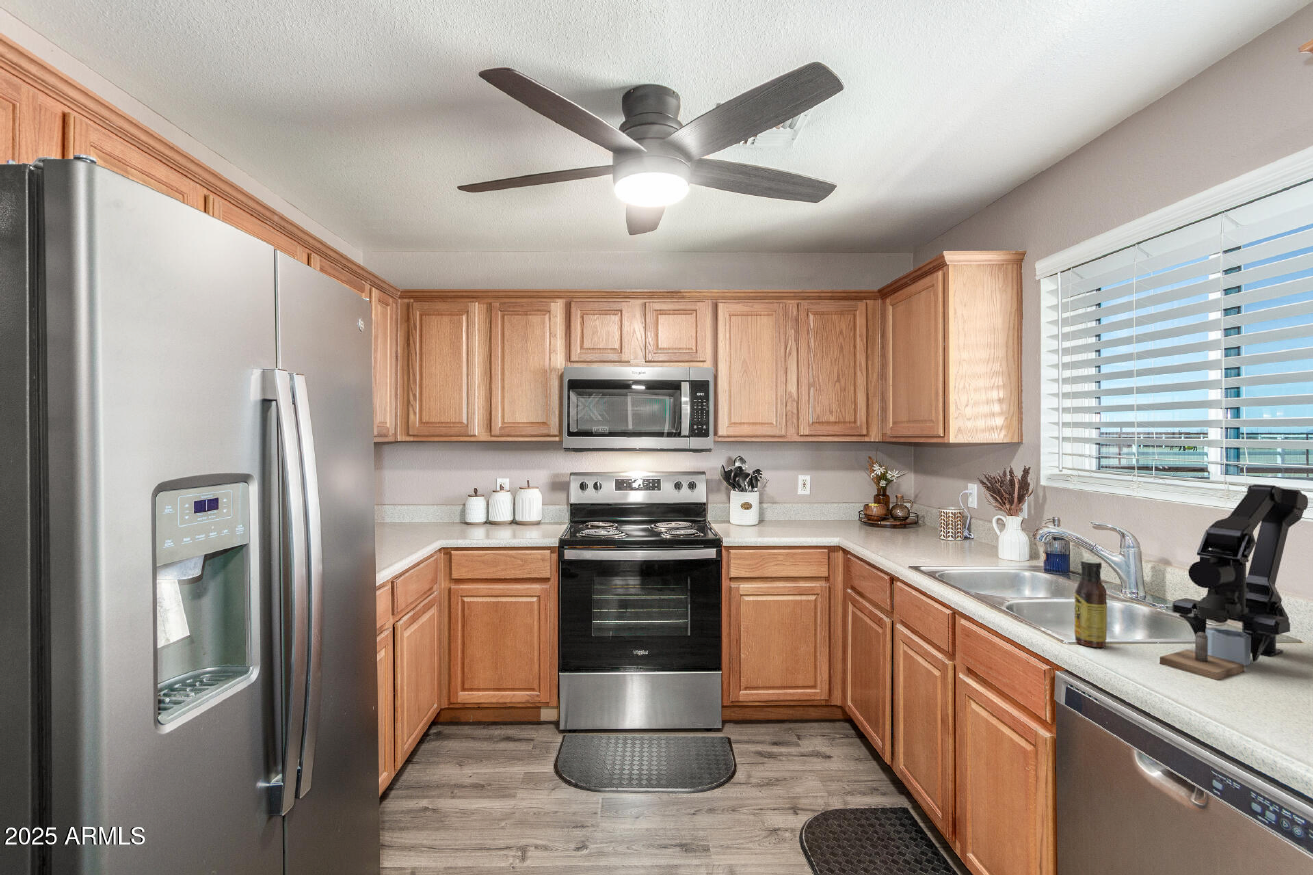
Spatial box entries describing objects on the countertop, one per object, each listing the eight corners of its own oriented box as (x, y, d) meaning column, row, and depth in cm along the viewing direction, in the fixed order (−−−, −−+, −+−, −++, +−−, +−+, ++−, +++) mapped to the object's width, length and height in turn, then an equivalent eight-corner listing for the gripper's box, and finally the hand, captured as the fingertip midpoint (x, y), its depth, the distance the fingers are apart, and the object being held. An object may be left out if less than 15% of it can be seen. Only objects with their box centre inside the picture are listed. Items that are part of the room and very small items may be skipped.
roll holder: (1187, 656, 141) (1187, 622, 141) (1243, 671, 132) (1244, 635, 132) (1159, 663, 137) (1160, 628, 136) (1216, 679, 128) (1217, 642, 127)
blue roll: (1216, 652, 144) (1216, 626, 144) (1255, 662, 138) (1255, 634, 138) (1200, 656, 141) (1200, 630, 141) (1239, 667, 135) (1239, 639, 135)
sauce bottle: (1076, 638, 153) (1076, 556, 153) (1107, 643, 149) (1108, 559, 149) (1072, 645, 148) (1073, 560, 148) (1105, 650, 144) (1106, 564, 144)
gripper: (1159, 578, 144) (1158, 646, 144) (1265, 597, 127) (1265, 674, 127) (1185, 573, 149) (1184, 639, 149) (1291, 591, 132) (1290, 666, 132)
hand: (1227, 654), depth 139 cm, fingers open, 9 cm apart
